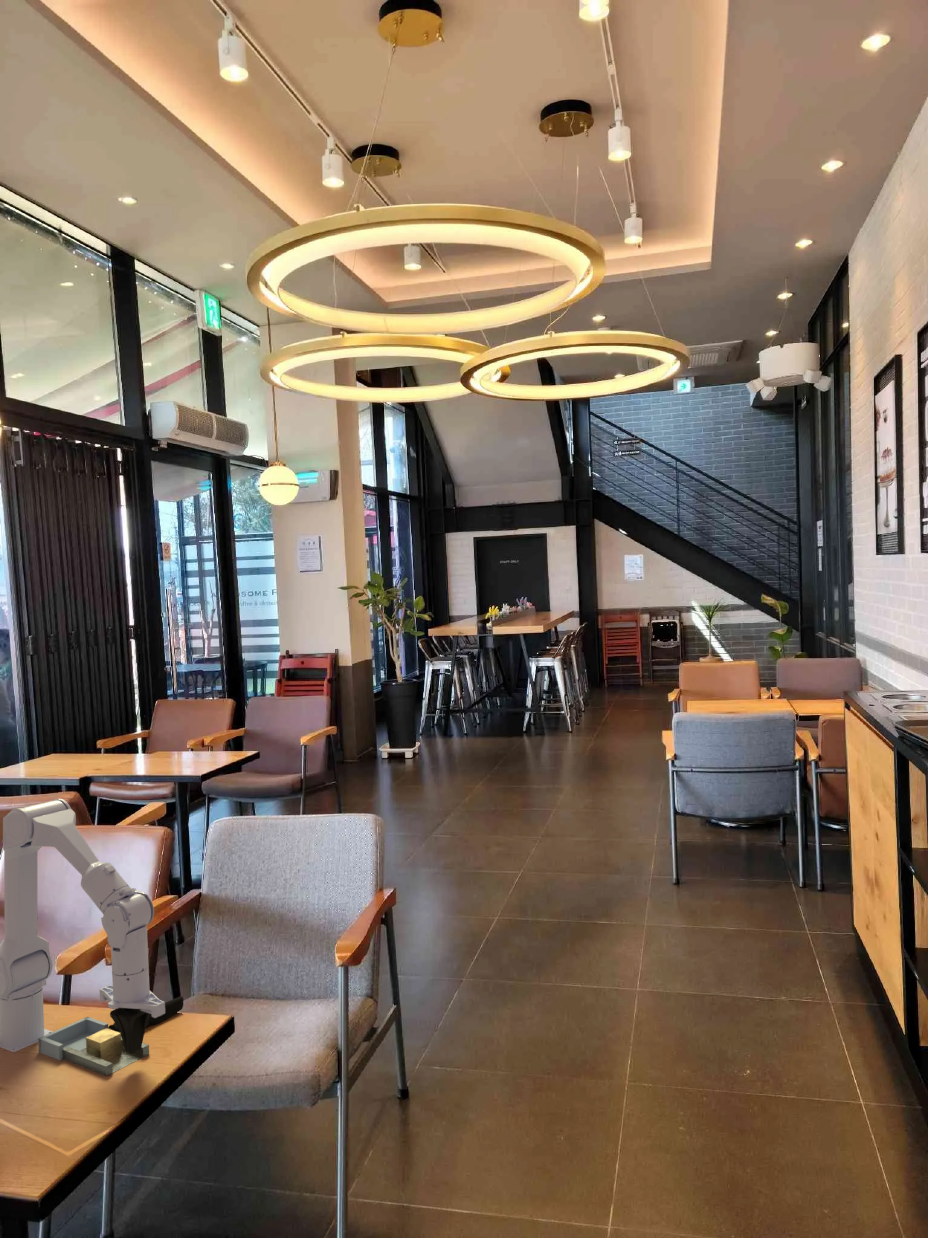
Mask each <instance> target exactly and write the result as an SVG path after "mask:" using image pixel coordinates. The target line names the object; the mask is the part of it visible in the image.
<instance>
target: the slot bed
mask: <svg viewBox="0 0 928 1238" xmlns="http://www.w3.org/2000/svg"><path fill="white" fill-rule="evenodd" d="M121 1050H122V1054H120V1055H118V1056H116V1057H114V1058H112V1059H110V1060H108V1061H105V1060H103V1059H100V1058H97V1057H95V1056H92V1055H90V1054H87V1053H86V1048H84V1049H82V1050H80V1051H79V1050H76V1049H74V1048H71V1047H67V1048H64V1049H62V1055H63V1059H62V1060H64V1061H66V1062H68V1063H71V1064H74V1065H77V1066H79V1067H82V1068H84V1069H86V1070H88V1071H92V1072H94V1073H96V1074H99V1075H102V1076H104V1077H108V1076H110V1075H113V1074H114V1073H116V1072H119V1071H120V1070H121V1069H124V1068H126V1067H128V1066H129V1065H131V1064H134V1063H136V1062H137V1061H139V1060H141V1059H143V1058H145V1057H147V1056H149V1055H150V1044H147V1043H145V1042H142V1047H141V1049H140V1050H138V1051H136V1052H134V1053H132V1054H130V1053H128V1052H126V1050H125V1047H124V1044H123V1040H122V1037H121Z"/></svg>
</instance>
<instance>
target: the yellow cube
mask: <svg viewBox="0 0 928 1238" xmlns="http://www.w3.org/2000/svg"><path fill="white" fill-rule="evenodd" d="M86 1053H87V1054H90V1055H92V1056H95V1057H97V1058H100V1059H103V1060H105V1061H108V1060H110V1059H112V1058H114V1057H116V1056H118V1055H120V1054H122V1050H121V1034H120V1033H119V1032H116V1031H113V1030H110V1029H107V1028H106V1029H103V1030H101V1031H99V1032H97V1033H95V1034H93V1035H91V1036H88V1037H86Z"/></svg>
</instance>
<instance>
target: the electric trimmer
mask: <svg viewBox="0 0 928 1238" xmlns="http://www.w3.org/2000/svg"><path fill="white" fill-rule="evenodd" d="M164 1002H165V1014H163V1015H161V1016H158V1017H156V1018H154V1017H152V1014H151V1016H150V1018H149V1021H148V1023H147V1026H146V1027H148V1026H151V1025H155V1026H156V1025H158V1024H160V1023H161V1022H163V1021H165V1020H167V1019H169V1018H170V1017H172V1016H173V1015H175V1014H177V1013H178V1012H180V1011H181V1010H183V1008H184V997H183V996H178V997H175V998H174V999H170V1000H168V1001H164ZM108 1029H110V1030H113V1031H116V1032H119V1030H118V1027H117V1026H116V1024H115V1022H113V1024H110V1025H108ZM119 1033H120V1032H119Z"/></svg>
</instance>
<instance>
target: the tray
mask: <svg viewBox="0 0 928 1238" xmlns="http://www.w3.org/2000/svg"><path fill="white" fill-rule="evenodd" d="M108 1027H109V1023H107V1022H104V1021H101V1020H98V1019H96V1018H93V1017H90V1016H86V1017H84V1018H82V1019H79V1020H77V1021H74V1022H73V1023H70V1024H68V1025H66V1026H63V1027H61V1028H59V1029H57V1030H54V1031H52V1033H49V1034H47V1035H45V1036H43V1037H40V1038H38V1042H37V1043H38V1053H39V1054H42V1055H44V1056H47V1057H50V1058H52V1059H54V1060H57V1061H62V1060H64V1059H63V1055H62V1049H64V1048H67V1047H71V1048H74V1049H76V1050H79V1051H80V1050H82V1049H84V1048H86V1037H88V1036H91V1035H93V1034H95V1033H97V1032H99V1031H101V1030H103V1029H106V1028H107V1029H108Z"/></svg>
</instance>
